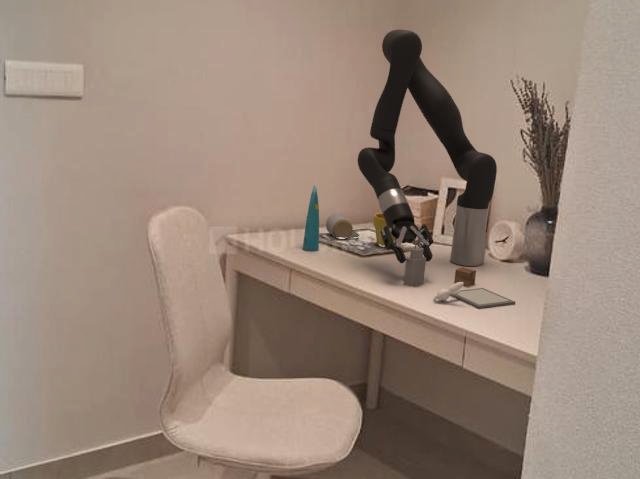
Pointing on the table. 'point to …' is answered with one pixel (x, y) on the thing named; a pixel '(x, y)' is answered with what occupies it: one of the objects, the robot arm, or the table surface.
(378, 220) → the plant pot
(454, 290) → the rabbit figurine
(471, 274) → the walnut block
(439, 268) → the table surface
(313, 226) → the tube
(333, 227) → the ceramic mug
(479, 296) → the pad
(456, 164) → the robot arm
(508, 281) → the table surface
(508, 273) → the table surface
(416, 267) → the power adapter
